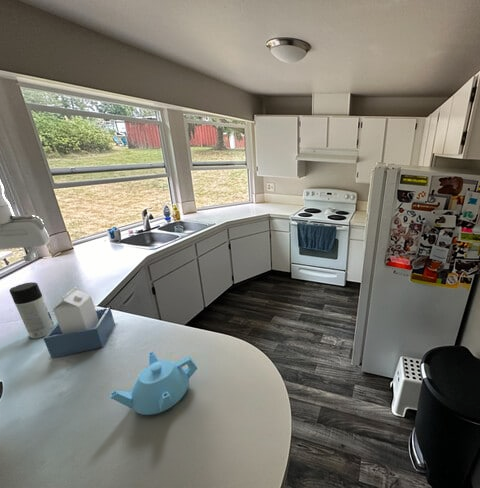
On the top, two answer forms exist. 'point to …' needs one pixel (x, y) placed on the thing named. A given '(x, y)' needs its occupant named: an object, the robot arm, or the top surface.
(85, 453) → the top surface
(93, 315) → the milk carton
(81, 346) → the tub
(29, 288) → the spray can
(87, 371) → the top surface
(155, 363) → the teapot
